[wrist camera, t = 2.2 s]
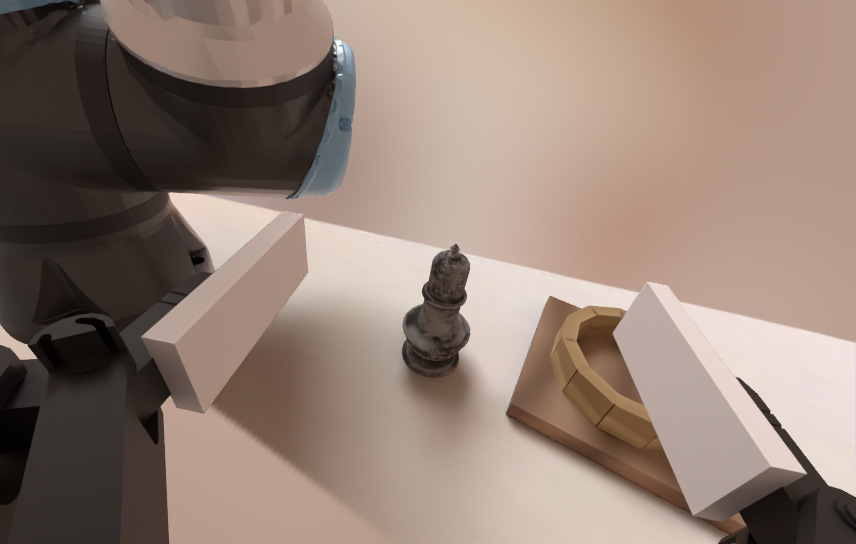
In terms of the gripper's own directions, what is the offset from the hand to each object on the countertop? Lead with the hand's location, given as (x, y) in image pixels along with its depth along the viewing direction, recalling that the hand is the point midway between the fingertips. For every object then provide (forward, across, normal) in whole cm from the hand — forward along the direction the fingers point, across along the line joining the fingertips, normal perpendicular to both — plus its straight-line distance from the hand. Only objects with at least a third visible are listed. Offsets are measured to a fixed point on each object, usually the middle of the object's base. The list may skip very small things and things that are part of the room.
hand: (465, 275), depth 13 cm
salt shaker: (+10, 0, -17) cm, 20 cm away
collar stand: (+10, +17, -17) cm, 26 cm away
